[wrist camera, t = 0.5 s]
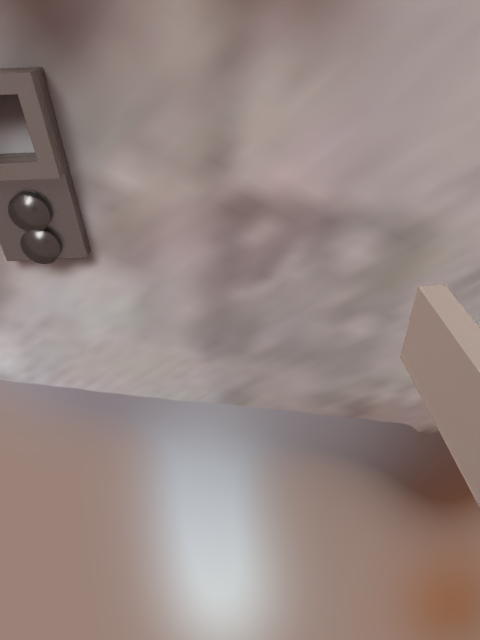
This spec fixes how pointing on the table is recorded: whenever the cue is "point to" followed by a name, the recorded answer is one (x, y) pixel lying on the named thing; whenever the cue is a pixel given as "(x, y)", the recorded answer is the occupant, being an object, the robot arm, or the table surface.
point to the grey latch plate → (41, 209)
